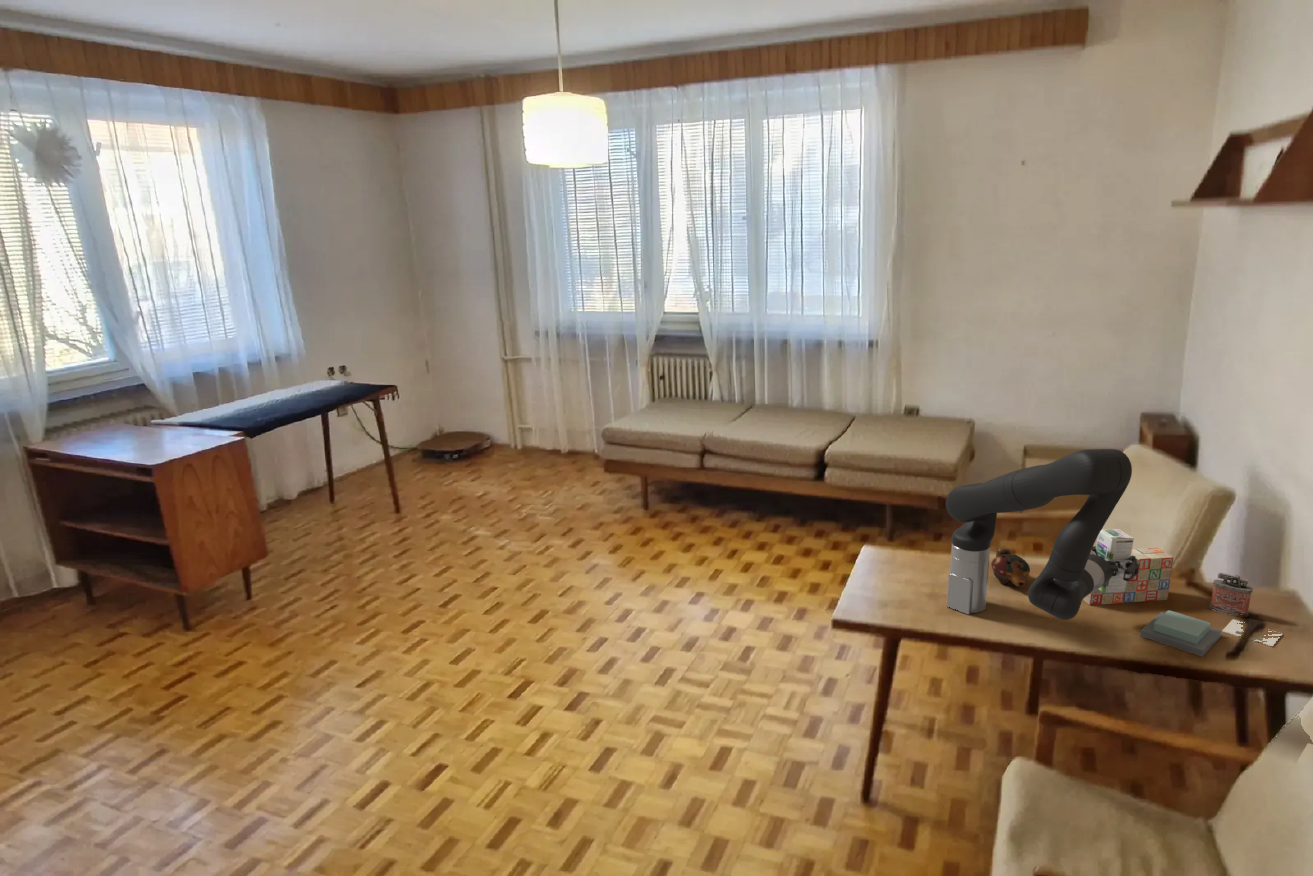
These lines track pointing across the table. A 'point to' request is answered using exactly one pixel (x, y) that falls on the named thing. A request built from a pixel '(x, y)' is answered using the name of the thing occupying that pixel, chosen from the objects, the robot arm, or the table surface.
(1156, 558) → the stack of blocks
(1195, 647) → the tower base
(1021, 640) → the table surface
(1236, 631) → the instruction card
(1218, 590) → the lighter
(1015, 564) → the decorative turtle
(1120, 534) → the syrup box
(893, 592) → the table surface
